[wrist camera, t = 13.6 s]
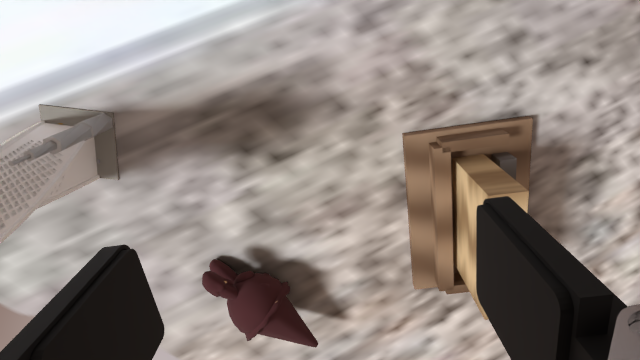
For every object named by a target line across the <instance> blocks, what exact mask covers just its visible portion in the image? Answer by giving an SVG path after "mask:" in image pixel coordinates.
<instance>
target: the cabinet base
mask: <svg viewBox="0 0 640 360" xmlns="http://www.w3.org/2000/svg"><path fill="white" fill-rule="evenodd" d="M532 123H533V118H531V117H529V116H524V117H517V118H510V119H502V120H495V121H488V122H481V123H474V124H466V125H459V126H452V127H445V128H438V129H431V130H423V131H416V132H409V133H402V134H403V148H404V162H405V177H406V191H407V205H408V219H409V234H410V248H411V262H412V276H413V285H414V288H415V289H423V288H432V287H438V289H439V291H446V293H447V294H454V293H463V292H470V291H469V290H468V288H467V286H466V284H465V282H464V280H463V278H462V277H461V275H460V273H459V271H458V269H457V267H456V266H455V264H454V262H453V165H452V158H456V157H464V156H472V155H480V154H484V155H485V156H487V157H488V158H489V159H490V160H491V161H493V162H494V163H495V164H496V165H498V166H499V167H500V168H501V169H502V170H504V171H505V172H506V173H507V174H509V175H510V176H511V177H512V178H513V179H515V180H516V181H517V182H518V183H519V184H521V185H522V186H523V187H524V188H526V189H527V190H528V191H529V176H530V158H531V141H532ZM527 211H528V210H527Z"/></svg>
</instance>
